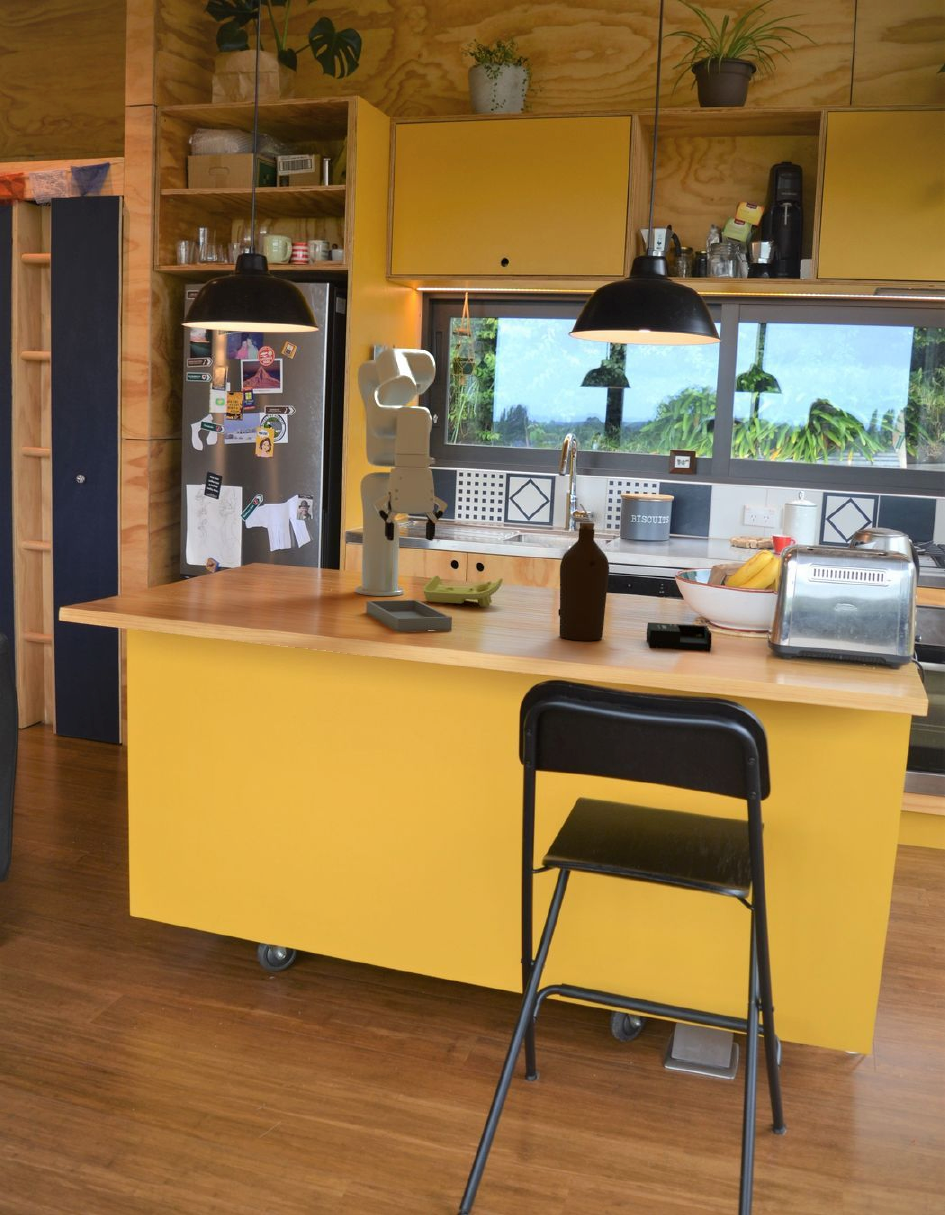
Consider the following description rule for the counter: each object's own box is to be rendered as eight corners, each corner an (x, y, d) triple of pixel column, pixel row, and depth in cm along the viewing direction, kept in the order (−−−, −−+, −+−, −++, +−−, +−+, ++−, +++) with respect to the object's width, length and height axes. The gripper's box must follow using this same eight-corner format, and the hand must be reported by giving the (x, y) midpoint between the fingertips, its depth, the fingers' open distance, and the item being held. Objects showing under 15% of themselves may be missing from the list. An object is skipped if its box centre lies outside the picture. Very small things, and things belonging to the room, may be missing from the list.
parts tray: (366, 613, 267) (366, 600, 267) (416, 612, 272) (416, 599, 271) (397, 632, 245) (397, 618, 244) (451, 630, 249) (451, 617, 249)
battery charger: (648, 648, 240) (650, 629, 239) (646, 640, 249) (647, 622, 249) (710, 651, 239) (712, 633, 238) (705, 643, 248) (707, 625, 248)
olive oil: (615, 638, 248) (622, 524, 244) (583, 643, 241) (589, 525, 237) (578, 630, 255) (584, 519, 251) (546, 635, 248) (552, 521, 244)
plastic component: (419, 591, 286) (438, 571, 293) (426, 616, 289) (445, 596, 297) (487, 595, 276) (505, 574, 283) (494, 620, 279) (511, 599, 287)
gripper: (442, 462, 259) (440, 538, 262) (369, 461, 253) (367, 538, 256) (454, 464, 252) (451, 541, 255) (379, 462, 246) (377, 541, 249)
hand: (409, 539), depth 255 cm, fingers open, 8 cm apart
